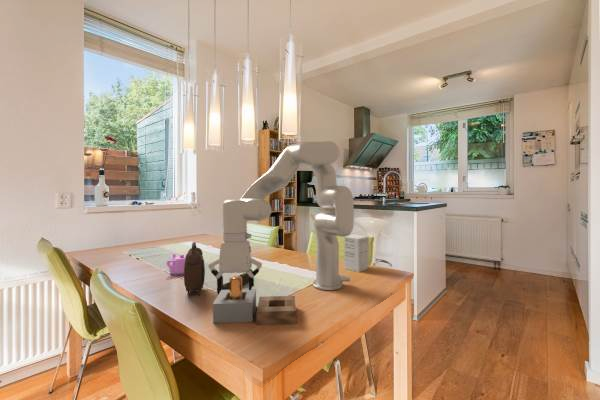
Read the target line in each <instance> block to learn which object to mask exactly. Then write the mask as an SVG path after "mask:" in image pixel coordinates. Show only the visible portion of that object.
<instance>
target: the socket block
mask: <svg viewBox="0 0 600 400" xmlns="http://www.w3.org/2000/svg"><path fill="white" fill-rule="evenodd" d="M256 307H257V289H256V288H252V289H251V290H249V288H242V300H230V290H221V291H220V293H219V295H218V294H217V296H216V297H215V300H214V301H213V303H212V323H213V324H222V323H223V324H225V323H230V324H231V323H253V321H254V316H255V313H256V309H257V308H256Z"/></svg>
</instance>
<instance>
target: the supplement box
mask: <svg viewBox="0 0 600 400" xmlns="http://www.w3.org/2000/svg"><path fill="white" fill-rule="evenodd" d="M343 243H344V247H343V250H344V251H343V252H344V255H343V256H344V257H343V263H344V264H343V265H344V268H343V269H345V270H347V271H348V270H349V271H353V272H356V273H360V272H363V271H366V270H369V268H370V236H367V235H361V234H350V235H348V236H345V237H343Z"/></svg>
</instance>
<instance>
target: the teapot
mask: <svg viewBox="0 0 600 400" xmlns="http://www.w3.org/2000/svg"><path fill="white" fill-rule="evenodd" d="M185 257H186V255H185V254H184V253H183V254H179V255H178V256H177V255H176V253H174V252H172V260H171V259H168V260H167V261H166V265H167V267H168V269H169V270H168V271H169V273H171V275H175V276H183V275H182V274H184V264H185Z"/></svg>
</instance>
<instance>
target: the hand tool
mask: <svg viewBox="0 0 600 400" xmlns="http://www.w3.org/2000/svg"><path fill="white" fill-rule="evenodd" d="M239 276H241V277H242V286H246V285H247V284H249V277H250V276H249V275H248V274H247V273H246V272H245V273H242V274H241V273H240V274H239ZM222 290H230V281H229V282H226V283H223V288H222ZM216 293H217V296H218V295H219V293H220V291H219V287H217V286H216Z"/></svg>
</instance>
